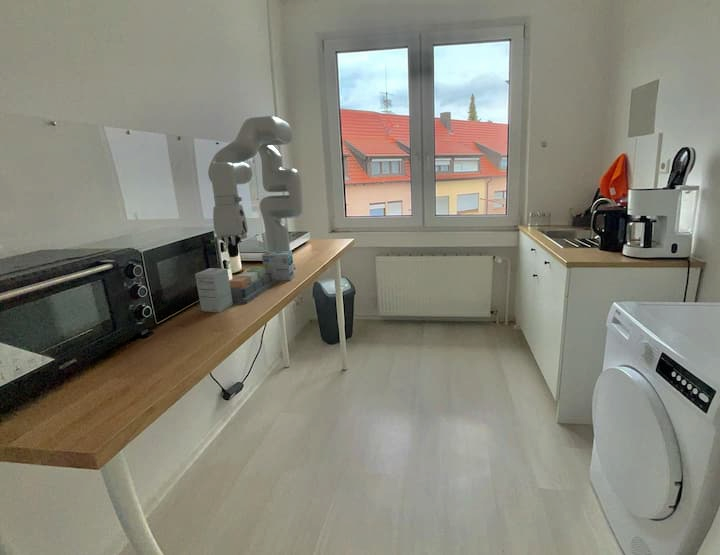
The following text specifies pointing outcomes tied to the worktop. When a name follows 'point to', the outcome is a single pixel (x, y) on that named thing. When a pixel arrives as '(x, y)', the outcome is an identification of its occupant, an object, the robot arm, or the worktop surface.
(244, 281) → the terracotta button
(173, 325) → the worktop surface
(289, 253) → the light bulb box
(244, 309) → the worktop surface
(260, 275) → the sage button
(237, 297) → the grey long rectangular frame
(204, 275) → the supplement box
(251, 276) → the cream button
